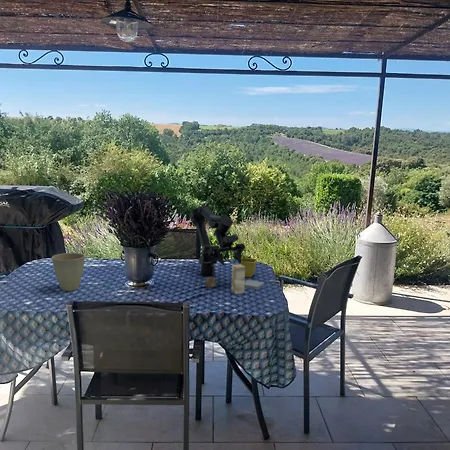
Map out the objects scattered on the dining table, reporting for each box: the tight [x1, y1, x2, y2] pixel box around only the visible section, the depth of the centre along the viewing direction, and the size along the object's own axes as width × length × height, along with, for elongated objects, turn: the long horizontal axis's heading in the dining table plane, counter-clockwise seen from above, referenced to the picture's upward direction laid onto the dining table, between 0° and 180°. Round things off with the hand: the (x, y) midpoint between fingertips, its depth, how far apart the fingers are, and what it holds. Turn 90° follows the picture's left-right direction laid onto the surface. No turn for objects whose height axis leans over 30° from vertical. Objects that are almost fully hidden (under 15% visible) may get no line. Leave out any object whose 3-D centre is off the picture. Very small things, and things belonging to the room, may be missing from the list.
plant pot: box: [51, 252, 86, 292], centre depth 215 cm, size 15×15×16 cm
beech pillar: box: [231, 264, 246, 295], centre depth 217 cm, size 4×4×13 cm
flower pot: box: [238, 257, 258, 278], centre depth 246 cm, size 9×9×9 cm
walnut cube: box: [205, 276, 217, 288], centre depth 227 cm, size 4×4×4 cm
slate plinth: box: [244, 279, 265, 290], centre depth 228 cm, size 9×9×2 cm
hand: (232, 264), depth 221 cm, fingers open, 9 cm apart
